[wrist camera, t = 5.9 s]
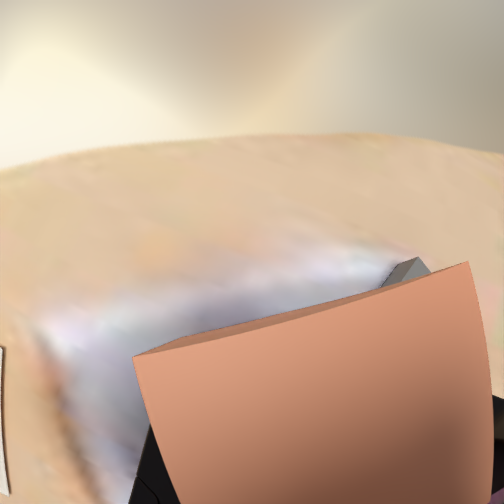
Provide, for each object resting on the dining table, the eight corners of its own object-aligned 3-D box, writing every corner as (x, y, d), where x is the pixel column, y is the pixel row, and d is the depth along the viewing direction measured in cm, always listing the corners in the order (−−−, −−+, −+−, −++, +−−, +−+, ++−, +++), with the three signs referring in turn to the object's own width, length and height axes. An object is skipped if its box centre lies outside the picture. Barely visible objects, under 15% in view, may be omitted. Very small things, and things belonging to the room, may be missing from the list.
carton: (301, 404, 15) (490, 500, 3) (207, 431, 14) (246, 622, 2) (278, 313, 16) (468, 260, 4) (181, 337, 15) (131, 357, 3)
